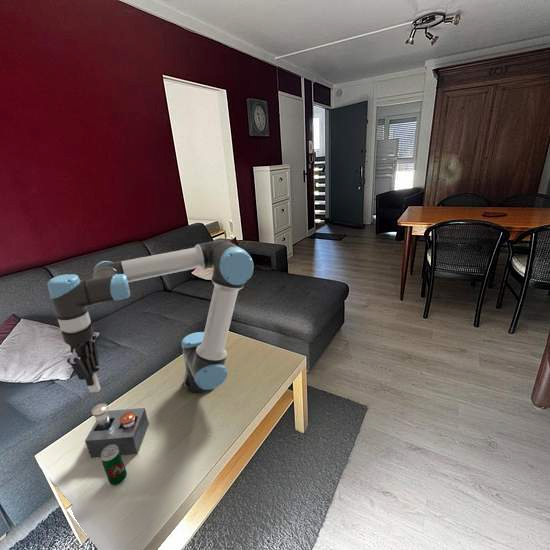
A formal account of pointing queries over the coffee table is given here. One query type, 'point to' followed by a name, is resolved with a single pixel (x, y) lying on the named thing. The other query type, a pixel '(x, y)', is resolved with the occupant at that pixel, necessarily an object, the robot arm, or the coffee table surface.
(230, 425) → the coffee table surface
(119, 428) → the housing
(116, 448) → the soda can
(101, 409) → the white light bulb
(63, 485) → the coffee table surface
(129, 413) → the orange light bulb
